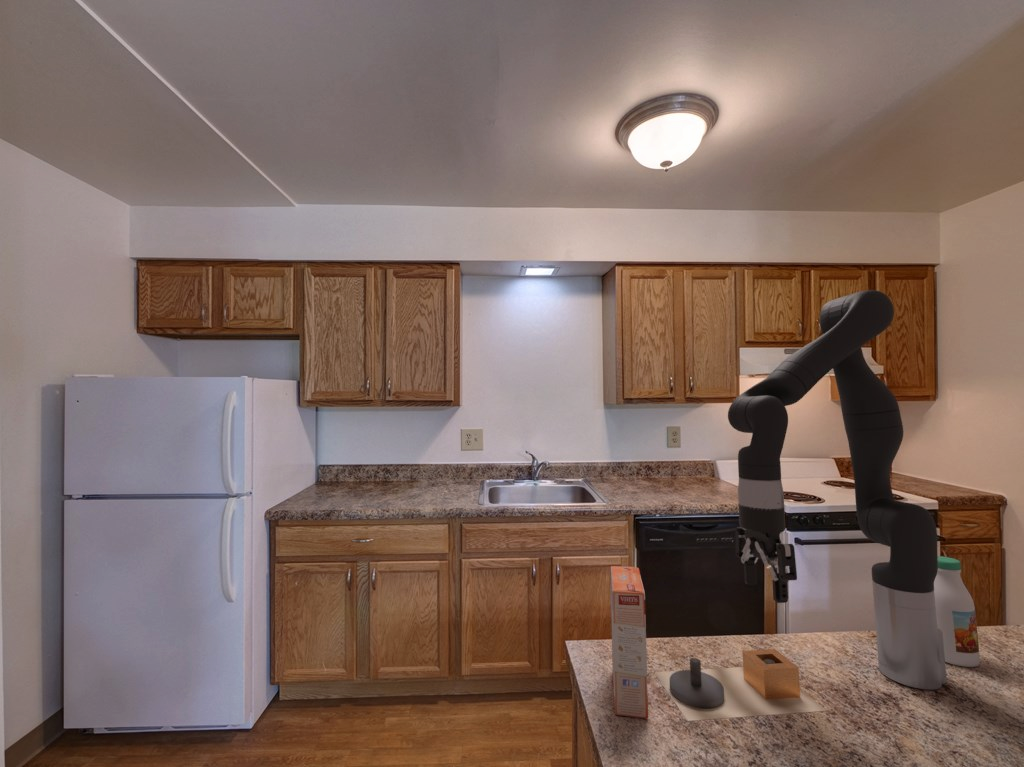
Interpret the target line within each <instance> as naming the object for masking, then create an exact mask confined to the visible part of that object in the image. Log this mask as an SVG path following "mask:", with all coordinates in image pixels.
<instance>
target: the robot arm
mask: <svg viewBox="0 0 1024 767" xmlns="http://www.w3.org/2000/svg"><path fill="white" fill-rule="evenodd" d="M894 316H895V309H894V305H893V301H891V298H889V296H888V295H887V294H885V293H884V292H882V291H881V290H876V289H866V290H862V291H861V290H860V291H857V292H854V293H851V294H850V293H849V294H848V295H847V294H846V295H844V296H841V297H838V298H837V297H836V298H835V299H832V300H829V301H826V303H825V304H824V305H823V306H822V307H821V310H820V312H819V327H820V331H821V334H822V335H819V337H817V338H816V339H814V340H813V341H811V342H809V343H807V344H805V345H804V346H802V347H801V348H800V349H797V350H796V351H795V352H794V353H792V354H791V355H789V356H788V357H787V358H785V359H784V360H783V361H781V363H779V365H778V366H777V367H775V369H774V370H773V371H771V373H770V374H769V375H768V376H767V377H765V378H763V379H762V380H761V381H759V382H758V383H756V384H754V385H753V386H751V387H750V388H747V390H745V391H744V392H742V393H741V394H740V395H738V396H737V397H736V398H735V399H733V401H732V402H731V404H730V406H729V407H728V411H727V419H728V422H729V424H730V426H731V427H732V428H733V429H735V430H736V431H738V432H741V433H745V434H747V433H748V434H751V439H750V443H749V445H746V446H744V447H741V448H740V449H739V450H738V454H737V463H738V464H737V466H738V468H737V469H738V482H737V483H738V485H737V499H738V501H737V503H738V524H739V526H737V527H735V528H734V530H735V533H734V534H735V538H734V539H735V540H734V541H735V556H736V557H737V558H740V561H741V563H742V564H743V575H744V576H743V577H744V578H743V579H744V583H745V584H746V585H747V586H757V585H758V582H759V581H758V565H757V564H756V563H757V562H758V560H760V561H762V563H763V564H764V567H765V568H766V569H768V570H769V573H770V575H771V578H772V580H771V581H772V596H773V597H772V598H773V601H774V602H776V603H778V604H785V603H788V600H789V589H788V587H789V586H788V584H789V581H797V580H798V574H797V562H796V554H795V553H796V552H795V546H794V544H793V543H783V542H782V540H781V537H780V535H781V534H782V533H783V532H784V531H785V530H786V514H785V513H786V512H785V497H784V496H785V494H784V487H783V483H782V468H781V456H782V451H783V449H784V443H785V440H786V439H785V438H786V434H787V430H788V426H789V425H788V424H789V415H788V410H787V408H786V407H787V406H791V405H794V404H797V403H798V402H800V401H801V399H802V398H804V397H806V396H805V395H807V394H808V393H809V392H810V391H811V390H812V389H813V388H814V387H815V386H816V385H817V384H818V383H819V381H821V380H822V379H823V378H824V377H825V376H826V375H827V374H828V373H829V372H830V371H832V372H833V374H834V379H835V382H836V383H835V384H836V386H837V391H838V392H837V393H838V396H839V402H840V408H841V413H842V419H843V420H842V422H843V425H844V430H845V434H846V438H847V442H848V447H849V448H848V449H849V454H850V459H851V468H852V473H853V482H854V494H855V495H854V496H855V510H856V518H857V523H858V525H859V529H860V530H861V532H862V534H864V535H863V536H865V537H866V538H867V539H869V541H870V540H871V541H872V542H874V543H876V544H880V545H883V546H886V547H890V549H889V551H890V552H889V561H885V562H876V563H874V564H873V565H871V566H872V567H871V578H872V579H871V582H872V594H873V608H874V610H873V611H874V623H875V635H876V649H877V650H876V652H877V661H878V662H877V663H878V670H879V672H880V673H882V675H884V676H886V678H888V679H890V680H892V681H895V682H896V683H899V684H902V685H903V686H907V687H910V688H915V689H921V690H931V691H932V690H938V689H940V688H942V685H944V684H947V683H948V682H947V681H948V680H947V670H946V662H945V655H944V643H943V633H942V631H941V630H940V629H938V628H937V618H936V606H935V595H934V580H935V578H936V575H937V571H938V531H937V527H936V526H937V525H936V522H935V519H934V517H933V515H932V514H931V512H930V511H929V510H928V509H926V508H925V507H923V506H921V505H919V504H915V503H910V502H906V501H900V500H896V499H895V497H894V493H893V489H892V485H891V484H892V483H891V468H892V465H893V462H894V460H895V458H896V456H897V454H898V452H899V450H900V447H901V444H902V443H903V438H904V426H903V421H902V416H901V412H900V410H901V409H900V406H899V403H898V400H897V397H896V396H895V395H894V394H893V392H892V391H891V389H890V388H889V387H888V386H887V385H886V383H885V382H883V380H881V378H880V377H879V376H878V375H877V374H876V373H875V372H874V371H873V370H872V369H871V367H870V365H868V363H867V360H866V358H865V357H864V353H863V349H862V346H864V345H865V344H867V343H869V342H870V341H872V340H874V339H875V337H877V336H879V335H880V334H882V333H883V332H884V331H886V329H888V328H889V326H890V325H891V324H892V322H893V319H894ZM742 546H743V549H742ZM787 567H788V569H787ZM776 568H777V569H778V571H777V569H776Z"/></svg>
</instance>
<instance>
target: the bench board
mask: <svg viewBox="0 0 1024 767" xmlns="http://www.w3.org/2000/svg"><path fill="white" fill-rule="evenodd" d="M764 662H765V663H766V664H775V662H774V661H773V660H770V659H765V660H764ZM701 666H702V665H701V660H700V659H699V658H696V657H691V658H689V669H682V670H673V671H671V670H670V671H658V672H657V671H656V672H653V674H654V675H655V677H656V678H657V679H658V681H659V683H661V685H662V686H663V687H664V689H665V691H666V692H667V694H668V695H669V696H670V698H671V699H672V701H673V702H674V703H675V705H676V707H677V708H678V709H679V711H680V712H681V714H682V715H683V716H684V718H685V720H686V721H687V722H695V721H696V722H697V721H706V720H707V721H711V720H721V719H734V718H736V719H737V718H747V717H748V718H749V717H763V716H764V717H765V716H776V715H777V716H779V715H788V714H789V715H790V714H802V713H803V714H804V713H815V712H819V713H820V712H827V711H828V710H827V709H826V708H824V707H823V706H822V705H821V704H819V703H818V701H817V700H815V699H814V698H812V697H811V696H810V695H809V694H808V693H806V691H804V690H803V689H802V688H800V697H798V698H784V699H770V700H765V699H764V698H763V697H762V696H761V695H760V694H759V693H758V692H757V691H756V690H755V689H754V688H753V687H752V686H751V685H750V684H749V683H748V682H747V681H746V680H745V679H744V674H743V666H737V667H721V668H720V667H719V668H704V669H702V668H701Z"/></svg>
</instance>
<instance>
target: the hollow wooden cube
mask: <svg viewBox="0 0 1024 767" xmlns="http://www.w3.org/2000/svg"><path fill="white" fill-rule="evenodd" d="M741 652H742V667H743V674H744V679H745V680H746V681H747V682H748V683H749V684H750V685H751V686H752V687H753V688H754V689H755V690H756V691H757V692H758V693H759V694H760V695H761V696H762V697H763V698H764V699H765V700H770V699H784V698H798V697H800V689H801V687H800V670H799V667H798V666H797V665H796V664H794V663H793V662H792V661H791V660H790V659H788V658H787V657H786V656H784V655H783V654H782V653H781V652H779V651H778V650H777V649H775V648H768V649H754V650H753V649H751V650H741ZM765 659H770V660H773V661H774V662H775V664H766V663H765V662H764V660H765Z"/></svg>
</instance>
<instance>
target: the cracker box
mask: <svg viewBox="0 0 1024 767" xmlns="http://www.w3.org/2000/svg"><path fill="white" fill-rule="evenodd" d="M610 607H611V608H610V612H611V615H610V616H611V655H612V656H611V658H612V660H611V661H612V664H611V665H612V685H613V686H612V688H613V691H612V692H613V701H614V702H613V704H614V705H613V706H614V715H615V716H623V717H632V718H637V719H638V718H639V719H648V718H649V702H648V701H649V700H648V697H649V695H648V693H649V692H648V669H647V668H648V665H647V664H648V660H647V659H648V658H647V630H646V629H647V624H646V622H647V621H646V620H647V619H646V616H647V615H646V593H645V589H644V584H643V581H642V577H641V571H640V568H639V567H636V566H620V565H611V566H610Z"/></svg>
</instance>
